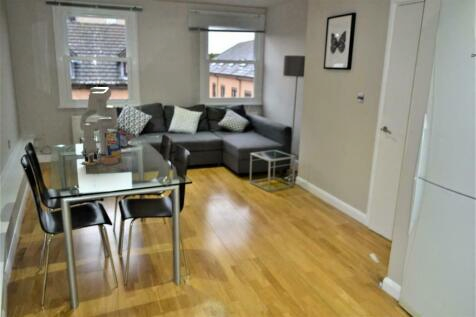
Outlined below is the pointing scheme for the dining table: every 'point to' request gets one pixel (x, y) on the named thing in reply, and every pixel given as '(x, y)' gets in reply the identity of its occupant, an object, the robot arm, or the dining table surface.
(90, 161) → the lid
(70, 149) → the dining table surface
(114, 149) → the blue food box
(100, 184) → the dining table surface
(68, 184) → the dining table surface
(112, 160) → the bowl
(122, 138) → the colourful crumpled piece
